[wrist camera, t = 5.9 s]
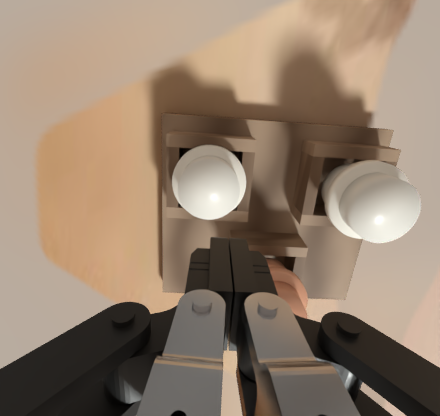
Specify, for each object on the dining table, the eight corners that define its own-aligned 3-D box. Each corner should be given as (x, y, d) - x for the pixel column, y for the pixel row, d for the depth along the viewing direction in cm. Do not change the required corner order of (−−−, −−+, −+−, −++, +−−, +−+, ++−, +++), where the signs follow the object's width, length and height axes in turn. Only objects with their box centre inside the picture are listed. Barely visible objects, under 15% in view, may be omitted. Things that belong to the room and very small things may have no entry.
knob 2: (389, 156, 23) (445, 171, 17) (370, 221, 25) (414, 253, 19) (319, 151, 22) (354, 165, 17) (306, 217, 24) (333, 249, 19)
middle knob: (299, 251, 26) (323, 290, 20) (289, 302, 28) (308, 350, 22) (237, 248, 25) (243, 287, 20) (231, 300, 27) (236, 347, 22)
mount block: (383, 128, 26) (416, 133, 22) (339, 291, 33) (358, 319, 28) (164, 113, 25) (154, 114, 21) (164, 283, 32) (157, 311, 27)
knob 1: (244, 142, 24) (253, 153, 19) (238, 204, 26) (245, 230, 21) (178, 138, 24) (168, 147, 19) (177, 201, 26) (168, 225, 21)
